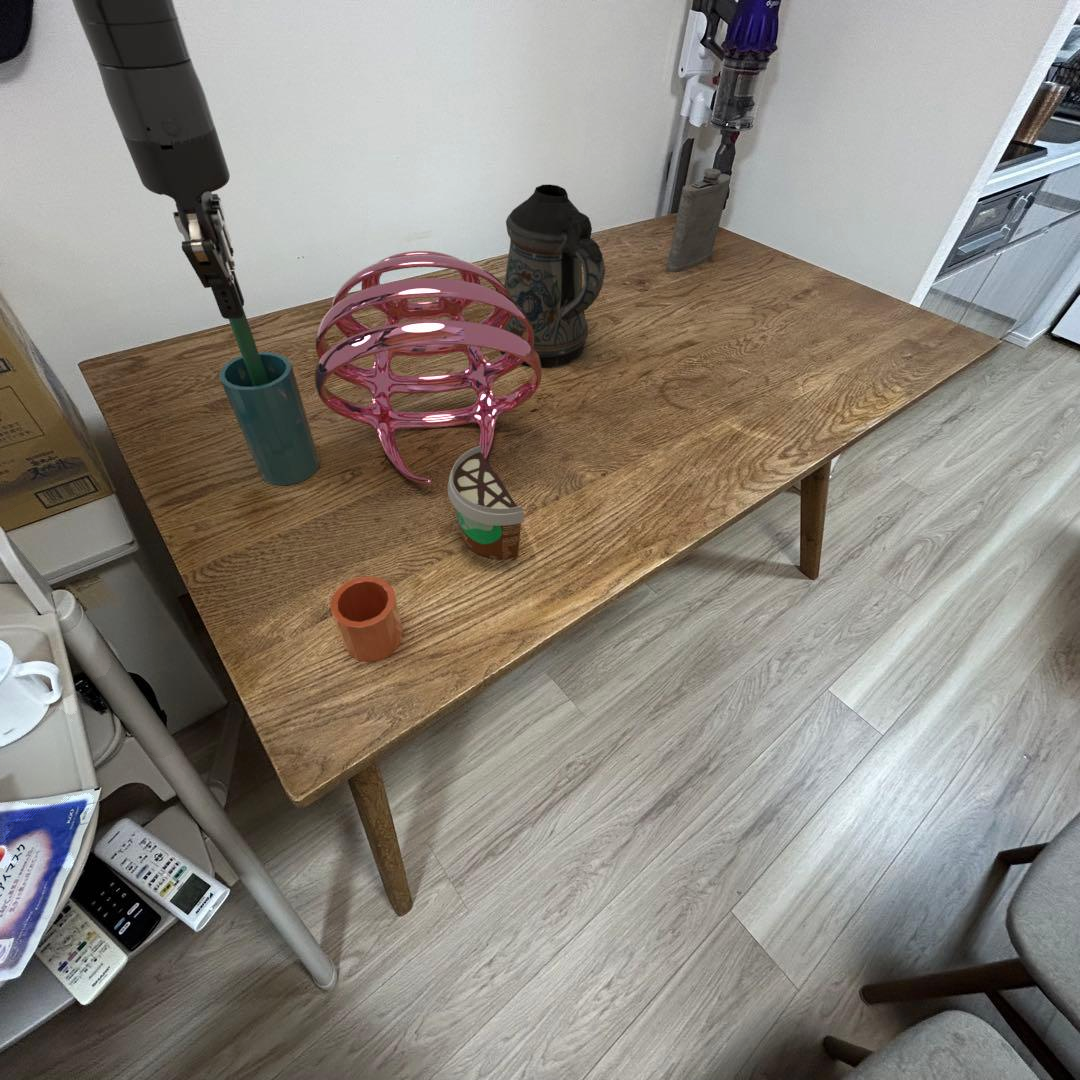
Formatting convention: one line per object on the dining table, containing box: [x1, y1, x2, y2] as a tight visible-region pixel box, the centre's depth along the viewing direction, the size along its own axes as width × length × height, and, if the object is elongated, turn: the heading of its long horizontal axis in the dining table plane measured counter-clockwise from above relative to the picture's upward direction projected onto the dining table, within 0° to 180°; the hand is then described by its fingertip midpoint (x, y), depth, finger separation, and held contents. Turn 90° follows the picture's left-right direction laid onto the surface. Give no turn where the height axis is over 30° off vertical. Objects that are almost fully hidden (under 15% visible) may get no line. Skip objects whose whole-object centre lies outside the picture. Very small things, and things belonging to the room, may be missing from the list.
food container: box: [447, 445, 525, 560], centre depth 71 cm, size 12×6×10 cm, turn 27°
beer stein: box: [499, 184, 606, 369], centre depth 96 cm, size 16×19×25 cm
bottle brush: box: [228, 283, 269, 387], centre depth 70 cm, size 3×3×22 cm
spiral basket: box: [314, 250, 543, 486], centre depth 76 cm, size 28×28×27 cm
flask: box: [666, 167, 732, 273], centre depth 124 cm, size 4×14×18 cm, turn 134°
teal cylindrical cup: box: [218, 351, 321, 486], centre depth 77 cm, size 8×8×15 cm
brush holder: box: [330, 575, 404, 663], centre depth 62 cm, size 6×6×7 cm
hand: (234, 310), depth 65 cm, fingers closed on bottle brush, 2 cm apart
